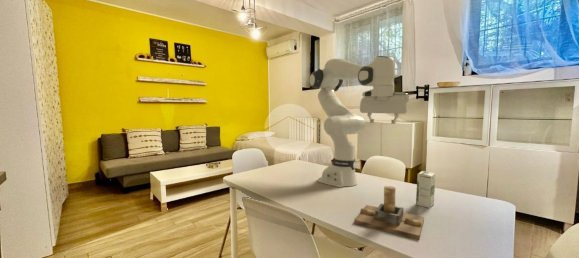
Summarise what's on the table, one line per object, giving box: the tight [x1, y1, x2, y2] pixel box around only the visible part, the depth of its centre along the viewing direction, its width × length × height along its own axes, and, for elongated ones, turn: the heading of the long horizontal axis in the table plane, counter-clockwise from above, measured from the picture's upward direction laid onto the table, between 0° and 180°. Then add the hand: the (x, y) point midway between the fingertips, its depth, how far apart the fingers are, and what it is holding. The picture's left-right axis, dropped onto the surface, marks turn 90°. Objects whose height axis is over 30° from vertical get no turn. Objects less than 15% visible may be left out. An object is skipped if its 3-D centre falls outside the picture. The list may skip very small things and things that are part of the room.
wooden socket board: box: [353, 203, 425, 241], centre depth 94 cm, size 22×16×5 cm
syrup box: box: [415, 170, 436, 209], centre depth 108 cm, size 6×6×14 cm
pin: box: [383, 185, 397, 214], centre depth 93 cm, size 4×4×12 cm
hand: (382, 123), depth 112 cm, fingers open, 8 cm apart
